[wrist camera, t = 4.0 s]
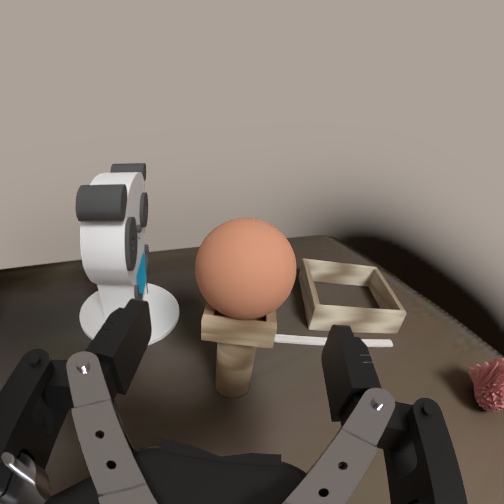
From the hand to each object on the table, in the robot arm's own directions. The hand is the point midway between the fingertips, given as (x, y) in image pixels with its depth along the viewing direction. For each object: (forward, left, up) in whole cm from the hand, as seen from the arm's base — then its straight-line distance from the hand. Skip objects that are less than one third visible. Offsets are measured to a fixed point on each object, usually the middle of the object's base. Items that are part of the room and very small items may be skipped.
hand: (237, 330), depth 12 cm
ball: (0, +6, 0) cm, 6 cm away
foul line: (+8, +12, -11) cm, 18 cm away
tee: (0, +6, -11) cm, 13 cm away
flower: (+26, +2, -12) cm, 29 cm away
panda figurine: (-12, +13, -11) cm, 21 cm away
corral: (+13, +20, -11) cm, 26 cm away
